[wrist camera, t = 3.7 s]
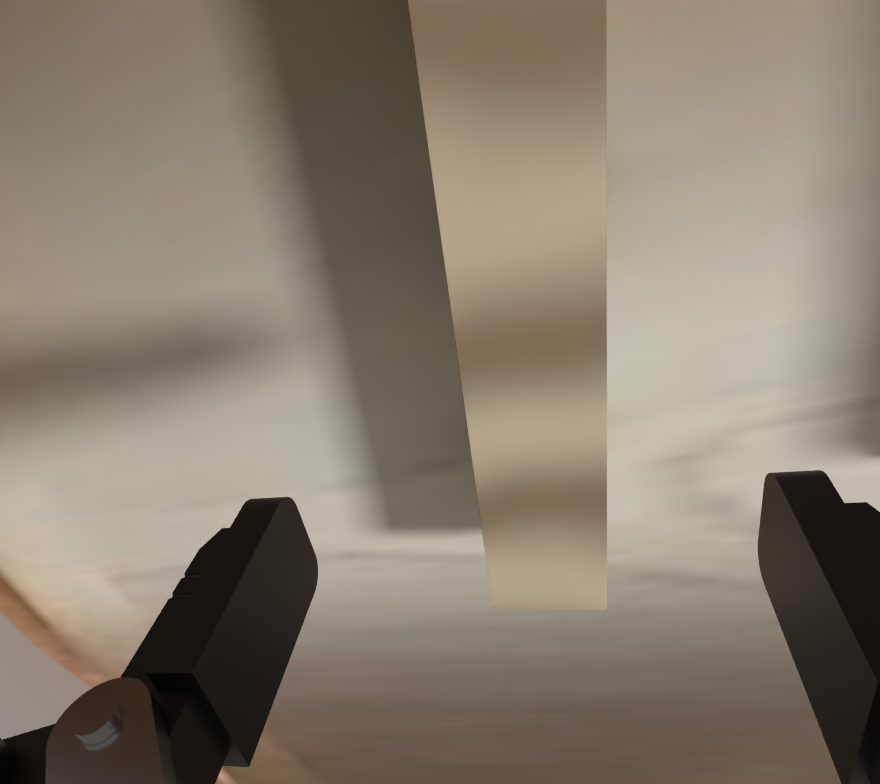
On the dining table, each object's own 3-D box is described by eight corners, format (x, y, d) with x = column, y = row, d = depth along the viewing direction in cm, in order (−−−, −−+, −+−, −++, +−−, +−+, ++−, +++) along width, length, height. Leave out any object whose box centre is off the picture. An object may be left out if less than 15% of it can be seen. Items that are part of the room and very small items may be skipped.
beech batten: (422, -150, 16) (379, -202, 11) (587, -184, 15) (605, -254, 11) (500, 512, 27) (492, 608, 23) (596, 511, 26) (606, 610, 22)
